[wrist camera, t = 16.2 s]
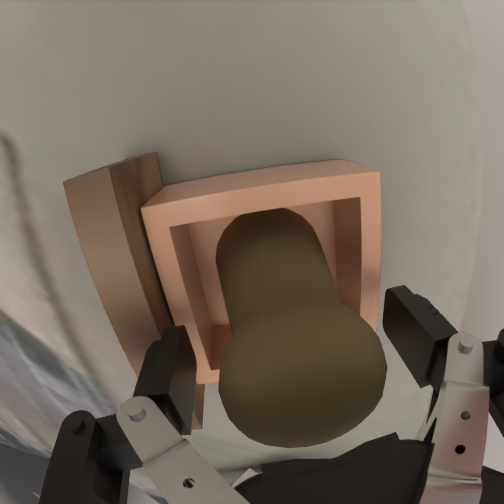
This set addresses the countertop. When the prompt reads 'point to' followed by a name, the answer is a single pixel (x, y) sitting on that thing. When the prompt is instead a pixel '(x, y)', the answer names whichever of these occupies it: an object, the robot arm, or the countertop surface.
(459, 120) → the countertop surface
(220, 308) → the terracotta holder
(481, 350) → the robot arm
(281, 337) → the cork
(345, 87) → the countertop surface
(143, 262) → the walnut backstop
